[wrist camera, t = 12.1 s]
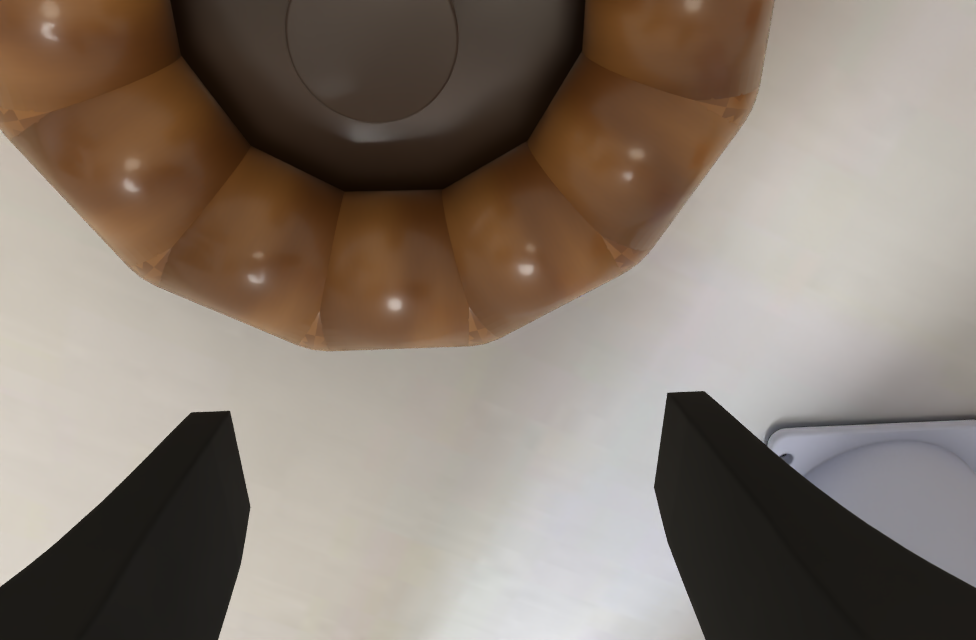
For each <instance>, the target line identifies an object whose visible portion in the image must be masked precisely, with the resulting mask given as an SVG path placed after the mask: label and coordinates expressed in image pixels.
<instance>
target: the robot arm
mask: <svg viewBox="0 0 976 640" xmlns="http://www.w3.org/2000/svg"><path fill="white" fill-rule="evenodd" d="M786 453H787V455H785V456H784V457H782V458H780V457H779V456H781V455H782V454H786ZM654 489H655V493H656V497H657V501H658V506H659V510H660V514H661V518H662V522H663V526H664V530H665V534H666V537H667V541H668V544H669V547H670V549H671V552H672V555H673V557H674V560H675V563H676V565H677V568H678V570H679V573H680V576H681V578H682V581H683V583H684V586H685V588H686V591H687V594H688V596H689V599H690V601H691V604H692V606H693V609H694V611H695V614H696V616H697V619H698V621H699V624H700V626H701V629H702V631H703V634H704V637H705V639H706V640H976V420H954V421H932V422H910V423H887V424H865V425H843V426H820V427H798V428H784V429H780V430H778V431H776V432H775V433H774V434H773V435H771V437H770V439H769V441H768V445H767V446H766V445H765V444H764V443H763V442H761V441H760V440H759V439H758V438H757V437H756V436H755V435H753V434H752V433H751V432H750V431H749V430H748V429H747V428H746V427H744V426H743V425H742V424H741V423H740V422H739V421H738V420H737V419H735V418H734V417H733V416H732V415H731V414H730V413H729V412H728V411H726V410H725V409H724V408H723V407H722V406H721V405H720V404H718V403H717V402H716V401H715V400H714V399H713V398H712V397H710V396H709V395H708V394H707V393H706V392H704V391H697V392H673V393H667V399H666V406H665V414H664V421H663V428H662V435H661V442H660V449H659V456H658V463H657V470H656V477H655V484H654ZM249 512H250V503H249V498H248V493H247V489H246V484H245V479H244V474H243V470H242V465H241V460H240V456H239V451H238V446H237V442H236V437H235V432H234V427H233V423H232V418H231V413H230V411H217V412H193V413H190V414H189V415H188V416H187V417H186V418H185V419H184V420H183V421H182V422H181V423H180V424H179V425H178V426H177V427H176V428H175V429H174V430H173V431H172V432H171V433H170V434H169V435H168V436H167V437H166V438H165V439H164V440H163V441H162V442H161V443H160V444H159V445H158V446H157V447H156V448H155V449H154V450H153V452H152V453H151V454H150V455H149V456H148V457H147V458H146V459H145V460H144V461H143V462H142V463H141V464H140V465H139V466H138V467H137V468H136V469H135V470H134V471H133V472H132V473H131V474H130V475H129V476H128V477H127V478H126V479H125V480H124V481H123V482H122V483H121V484H120V485H119V486H118V487H116V488H115V489H114V490H113V491H112V492H111V493H110V494H109V495H108V496H107V497H106V498H105V499H104V500H103V501H102V502H101V503H100V504H99V505H98V506H97V507H95V508H94V509H93V510H92V511H91V512H90V513H89V514H88V515H87V516H85V517H84V518H83V519H82V520H81V521H80V522H79V523H78V524H77V525H75V526H74V527H73V528H72V529H71V530H70V531H69V532H68V533H67V534H65V535H64V536H63V537H62V538H61V539H60V540H59V541H58V542H56V543H55V544H54V545H53V546H52V547H50V548H49V549H48V550H47V551H46V552H45V553H43V554H42V555H41V556H40V557H38V558H37V559H36V560H35V561H33V562H32V563H31V564H30V565H28V566H27V567H26V568H25V569H23V570H22V571H21V572H19V573H18V574H17V575H15V576H14V577H13V578H11V579H10V580H9V581H7V582H6V583H5V584H4V585H2V586H1V587H0V640H218V638H219V635H220V631H221V628H222V625H223V622H224V618H225V615H226V612H227V609H228V605H229V602H230V599H231V595H232V592H233V589H234V585H235V582H236V579H237V575H238V572H239V568H240V565H241V560H242V554H243V549H244V543H245V538H246V531H247V525H248V518H249Z"/></svg>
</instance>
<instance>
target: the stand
mask: <svg viewBox="0 0 976 640" xmlns="http://www.w3.org/2000/svg"><path fill="white" fill-rule="evenodd" d="M170 2H171V7H172V12H173V17H174V22H175V27H176V33H177V38H178V43H179V48H180V53H181V56H182V57H183V58H184V60H185V61H186V62H187V64H188V65H189V66H190V68H191V69H192V70H193V71H194V73H195V74H196V75H197V77H198V78H199V79H200V81H201V82H202V83H203V84H204V86H205V87H206V88H207V90H208V91H209V92H210V94H211V95H212V96H213V97H214V99H215V100H216V101H217V103H218V104H219V105H220V107H221V108H222V109H223V110H224V112H225V113H226V114H227V116H228V117H229V118H230V120H231V121H232V122H233V123H234V125H235V126H236V127H237V129H238V130H239V131H240V133H241V134H242V135H243V136H244V138H245V139H246V140H247V142H248V143H249V144H250V145H251V146H253V147H255V148H257V149H259V150H261V151H263V152H265V153H267V154H269V155H271V156H273V157H275V158H277V159H279V160H281V161H283V162H285V163H287V164H289V165H291V166H293V167H295V168H297V169H299V170H302V171H304V172H306V173H308V174H310V175H312V176H314V177H316V178H318V179H320V180H322V181H324V182H326V183H328V184H330V185H332V186H334V187H336V188H338V189H340V190H342V191H344V192H353V191H395V190H437V189H445V188H446V187H448V186H450V185H452V184H453V183H455V182H457V181H459V180H460V179H462V178H464V177H465V176H467V175H469V174H471V173H472V172H474V171H476V170H478V169H479V168H481V167H483V166H484V165H486V164H488V163H490V162H491V161H493V160H495V159H497V158H498V157H500V156H502V155H503V154H505V153H507V152H509V151H510V150H512V149H514V148H515V147H517V146H519V145H521V144H522V143H524V142H526V141H528V139H529V137H530V136H531V134H532V132H533V131H534V129H535V128H536V126H537V124H538V123H539V121H540V119H541V118H542V116H543V114H544V113H545V111H546V109H547V108H548V106H549V104H550V103H551V101H552V100H553V98H554V96H555V95H556V93H557V91H558V90H559V88H560V86H561V85H562V83H563V81H564V80H565V78H566V76H567V75H568V73H569V71H570V70H571V68H572V67H573V65H574V63H575V62H576V60H577V58H578V57H579V55H580V53H581V52H582V47H583V31H584V14H585V0H170Z"/></svg>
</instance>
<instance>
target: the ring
mask: <svg viewBox="0 0 976 640" xmlns="http://www.w3.org/2000/svg"><path fill="white" fill-rule="evenodd" d="M774 2H775V0H585V14H584V31H583V47H582V52H581V53H580V55H579V57H578V58H577V60H576V62H575V63H574V65H573V67H572V68H571V70H570V71H569V73H568V75H567V76H566V78H565V80H564V81H563V83H562V85H561V86H560V88H559V90H558V91H557V93H556V95H555V96H554V98H553V100H552V101H551V103H550V104H549V106H548V108H547V109H546V111H545V113H544V114H543V116H542V118H541V119H540V121H539V123H538V124H537V126H536V128H535V129H534V131H533V132H532V134H531V136H530V137H529V139H528V141H526V142H524V143H522V144H521V145H519V146H517V147H515V148H514V149H512V150H510V151H509V152H507V153H505V154H503V155H502V156H500V157H498V158H497V159H495V160H493V161H491V162H490V163H488V164H486V165H484V166H483V167H481V168H479V169H478V170H476V171H474V172H472V173H471V174H469V175H467V176H465V177H464V178H462V179H460V180H459V181H457V182H455V183H453V184H452V185H450V186H448V187H446V188H445V189H437V190H395V191H353V192H344V191H342V190H340V189H338V188H336V187H334V186H332V185H330V184H328V183H326V182H324V181H322V180H320V179H318V178H316V177H314V176H312V175H310V174H308V173H306V172H304V171H302V170H299V169H297V168H295V167H293V166H291V165H289V164H287V163H285V162H283V161H281V160H279V159H277V158H275V157H273V156H271V155H269V154H267V153H265V152H263V151H261V150H259V149H257V148H255V147H253V146H251V145H250V144H249V143H248V142H247V140H246V139H245V138H244V136H243V135H242V134H241V133H240V131H239V130H238V129H237V127H236V126H235V125H234V123H233V122H232V121H231V120H230V118H229V117H228V116H227V114H226V113H225V112H224V110H223V109H222V108H221V107H220V105H219V104H218V103H217V101H216V100H215V99H214V97H213V96H212V95H211V94H210V92H209V91H208V90H207V88H206V87H205V86H204V84H203V83H202V82H201V81H200V79H199V78H198V77H197V75H196V74H195V73H194V71H193V70H192V69H191V68H190V66H189V65H188V64H187V62H186V61H185V60H184V58H183V57H182V56H181V53H180V48H179V43H178V38H177V33H176V27H175V22H174V17H173V12H172V7H171V2H170V0H0V129H1V130H2V132H3V133H4V134H5V136H6V137H7V138H8V139H9V140H10V141H11V143H12V144H13V145H14V146H15V147H16V148H17V149H18V150H19V151H20V152H21V153H22V154H23V155H24V156H25V157H26V158H27V160H28V161H29V162H30V163H31V164H32V165H33V166H34V167H35V168H36V169H37V170H38V171H39V172H40V173H41V174H42V176H43V177H44V178H45V179H46V180H47V181H48V182H49V183H50V184H51V185H52V186H53V187H54V188H55V189H56V190H57V191H58V193H59V194H60V195H61V196H62V197H63V198H64V199H65V200H66V201H67V202H68V203H69V204H70V205H71V206H72V207H73V209H74V210H75V211H76V212H77V213H78V214H79V215H80V216H81V217H82V218H83V219H84V220H85V221H86V222H87V223H88V224H89V226H90V227H91V228H92V229H93V230H94V231H95V232H96V233H97V234H98V235H99V236H100V237H101V238H102V239H103V240H104V242H105V243H106V244H107V245H108V246H109V247H110V248H111V249H112V250H113V251H114V252H115V253H116V254H117V255H118V256H119V257H120V259H121V260H122V261H123V262H124V263H125V264H126V265H127V266H128V267H129V268H130V269H131V270H133V271H134V272H135V273H136V274H137V275H139V276H140V277H141V278H143V279H144V280H146V281H148V282H150V283H151V284H153V285H155V286H157V287H159V288H162V289H164V290H167V291H169V292H171V293H174V294H176V295H179V296H181V297H183V298H186V299H188V300H191V301H193V302H195V303H198V304H200V305H202V306H205V307H207V308H210V309H212V310H214V311H217V312H219V313H222V314H224V315H226V316H229V317H231V318H234V319H236V320H238V321H241V322H243V323H246V324H248V325H250V326H253V327H255V328H258V329H260V330H262V331H265V332H267V333H270V334H272V335H274V336H277V337H279V338H282V339H284V340H286V341H289V342H291V343H293V344H296V345H299V346H301V347H305V348H308V349H312V350H320V351H348V350H376V349H404V348H433V347H461V346H475V345H481V344H486V343H489V342H491V341H494V340H497V339H499V338H501V337H503V336H505V335H507V334H509V333H511V332H513V331H515V330H517V329H519V328H521V327H522V326H524V325H526V324H528V323H530V322H532V321H534V320H536V319H538V318H540V317H542V316H543V315H545V314H547V313H549V312H551V311H553V310H555V309H557V308H559V307H561V306H562V305H564V304H566V303H568V302H570V301H572V300H574V299H576V298H578V297H580V296H582V295H583V294H585V293H587V292H589V291H591V290H593V289H595V288H597V287H599V286H601V285H603V284H604V283H606V282H608V281H610V280H612V279H614V278H616V277H618V276H620V275H622V274H623V273H625V272H627V271H628V270H630V269H631V268H633V267H634V266H635V265H637V264H638V263H639V262H640V261H641V260H642V259H643V258H644V257H645V256H646V255H647V254H648V253H649V252H650V251H651V249H652V248H653V247H654V246H655V244H656V243H657V241H658V240H659V239H660V237H661V236H662V235H663V233H664V232H665V231H666V229H667V228H668V226H669V225H670V224H671V222H672V221H673V220H674V218H675V217H676V215H677V214H678V213H679V211H680V210H681V209H682V207H683V206H684V205H685V203H686V202H687V200H688V199H689V198H690V196H691V195H692V194H693V192H694V191H695V190H696V188H697V187H698V185H699V184H700V183H701V181H702V180H703V179H704V177H705V176H706V175H707V173H708V172H709V170H710V169H711V168H712V166H713V165H714V164H715V162H716V161H717V159H718V158H719V157H720V155H721V154H722V153H723V151H724V150H725V149H726V147H727V146H728V144H729V143H730V142H731V140H732V139H733V138H734V136H735V135H736V134H737V132H738V131H739V129H740V128H741V127H742V125H743V124H744V122H745V121H746V119H747V117H748V115H749V113H750V112H751V110H752V108H753V105H754V103H755V101H756V97H757V94H758V90H759V86H760V82H761V76H762V70H763V65H764V59H765V53H766V48H767V42H768V36H769V30H770V25H771V19H772V13H773V8H774Z"/></svg>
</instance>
